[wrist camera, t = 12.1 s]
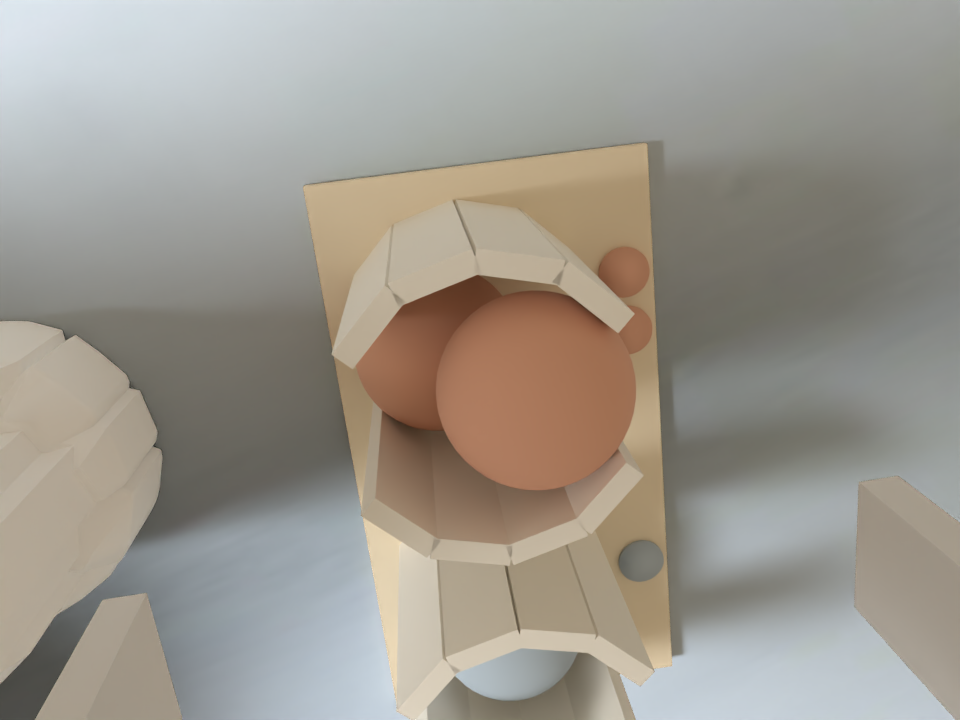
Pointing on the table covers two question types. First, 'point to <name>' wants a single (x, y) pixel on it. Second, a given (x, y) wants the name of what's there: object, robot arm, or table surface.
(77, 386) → the decorative vase
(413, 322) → the ball terracotta in tube
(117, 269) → the table surface
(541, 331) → the ball terracotta loose
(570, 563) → the tube rack
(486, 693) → the ball slate in tube
